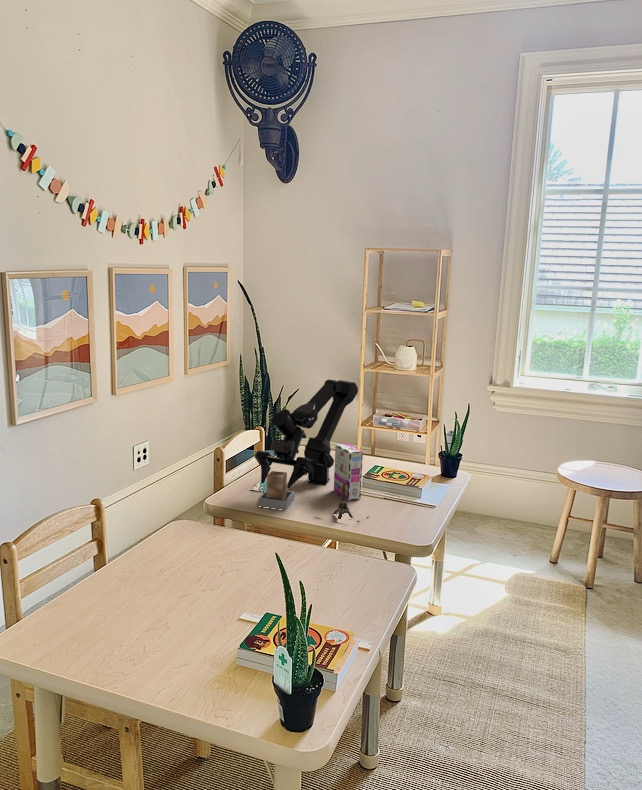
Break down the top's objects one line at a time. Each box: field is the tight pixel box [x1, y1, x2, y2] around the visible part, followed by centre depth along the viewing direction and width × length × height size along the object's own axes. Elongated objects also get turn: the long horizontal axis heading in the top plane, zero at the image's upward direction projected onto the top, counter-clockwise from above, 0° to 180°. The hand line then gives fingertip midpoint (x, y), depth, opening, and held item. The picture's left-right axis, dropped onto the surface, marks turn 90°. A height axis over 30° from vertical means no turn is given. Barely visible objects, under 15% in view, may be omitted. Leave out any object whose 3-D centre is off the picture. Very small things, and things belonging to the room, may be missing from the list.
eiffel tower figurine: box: [332, 480, 354, 519], centre depth 200 cm, size 15×10×13 cm
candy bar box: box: [333, 443, 364, 502], centre depth 218 cm, size 11×5×16 cm, turn 25°
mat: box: [254, 480, 267, 491], centre depth 225 cm, size 10×10×1 cm
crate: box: [257, 490, 296, 511], centre depth 209 cm, size 9×9×3 cm
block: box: [266, 470, 288, 501], centre depth 209 cm, size 5×5×10 cm
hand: (274, 485), depth 207 cm, fingers open, 9 cm apart
